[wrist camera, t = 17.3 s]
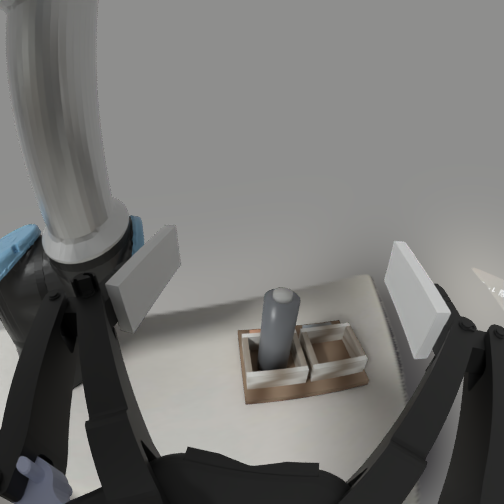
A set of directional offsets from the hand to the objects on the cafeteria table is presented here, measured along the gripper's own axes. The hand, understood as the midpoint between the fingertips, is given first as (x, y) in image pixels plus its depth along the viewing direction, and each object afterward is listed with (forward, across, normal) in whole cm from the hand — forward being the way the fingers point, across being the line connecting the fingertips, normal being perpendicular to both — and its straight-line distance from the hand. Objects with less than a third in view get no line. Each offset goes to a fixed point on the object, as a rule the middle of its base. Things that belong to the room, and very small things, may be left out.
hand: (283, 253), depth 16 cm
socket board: (+14, +4, -26) cm, 30 cm away
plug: (+12, -1, -25) cm, 28 cm away
